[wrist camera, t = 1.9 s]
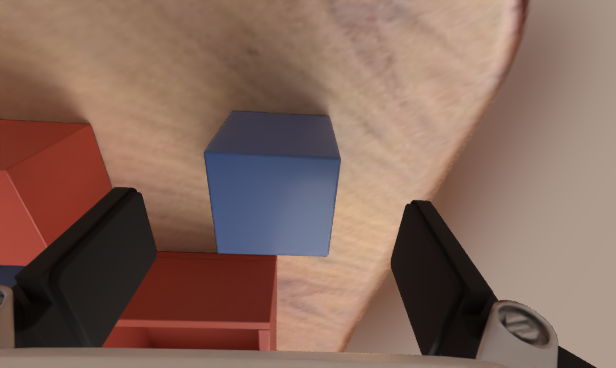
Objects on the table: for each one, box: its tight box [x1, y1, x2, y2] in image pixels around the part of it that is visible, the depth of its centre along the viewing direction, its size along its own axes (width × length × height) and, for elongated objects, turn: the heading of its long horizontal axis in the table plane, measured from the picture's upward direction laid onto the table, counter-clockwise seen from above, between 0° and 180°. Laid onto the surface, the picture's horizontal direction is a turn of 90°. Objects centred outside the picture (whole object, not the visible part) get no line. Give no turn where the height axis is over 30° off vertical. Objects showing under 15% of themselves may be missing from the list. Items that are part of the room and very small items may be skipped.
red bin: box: [101, 252, 277, 351], centre depth 18 cm, size 11×10×4 cm
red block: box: [0, 120, 112, 266], centre depth 12 cm, size 4×4×4 cm
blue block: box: [204, 111, 341, 257], centre depth 12 cm, size 4×4×4 cm
